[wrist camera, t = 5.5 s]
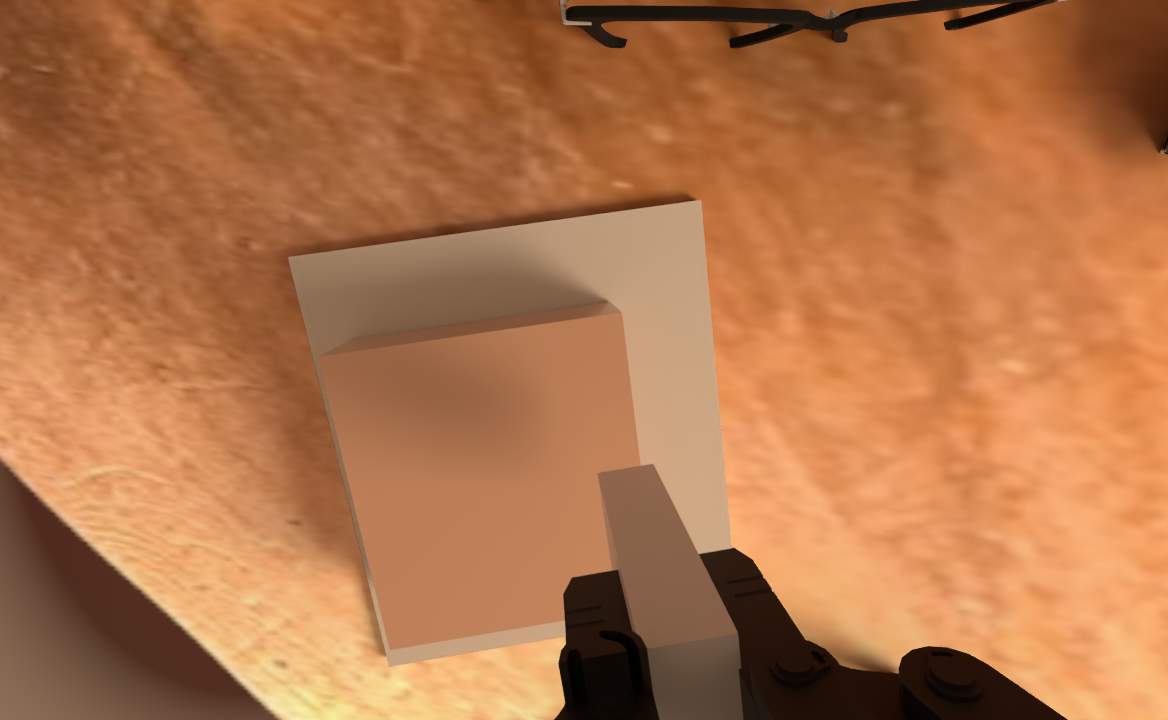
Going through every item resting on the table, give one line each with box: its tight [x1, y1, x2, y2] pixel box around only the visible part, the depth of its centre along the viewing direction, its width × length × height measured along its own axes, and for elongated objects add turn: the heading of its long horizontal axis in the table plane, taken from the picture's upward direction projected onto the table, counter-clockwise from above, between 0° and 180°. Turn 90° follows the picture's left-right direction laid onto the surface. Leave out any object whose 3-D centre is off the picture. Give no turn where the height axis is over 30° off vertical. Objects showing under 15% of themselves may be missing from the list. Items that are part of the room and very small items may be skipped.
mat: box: [288, 200, 731, 667], centre depth 21 cm, size 16×14×1 cm
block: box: [318, 302, 641, 650], centre depth 19 cm, size 10×3×9 cm
